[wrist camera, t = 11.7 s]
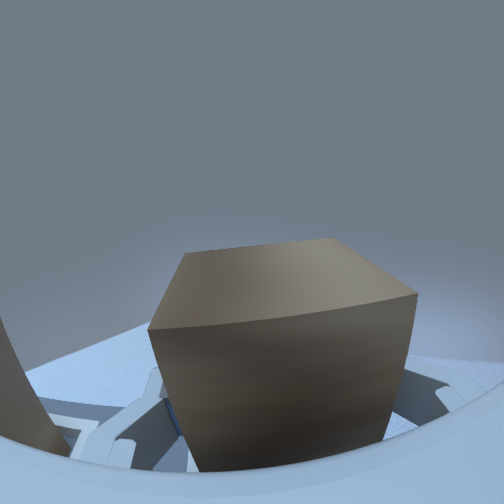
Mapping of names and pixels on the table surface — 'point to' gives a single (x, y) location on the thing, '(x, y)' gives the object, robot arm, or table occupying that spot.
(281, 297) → the walnut post
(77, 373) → the table surface
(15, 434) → the board
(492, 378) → the table surface
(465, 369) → the table surface
